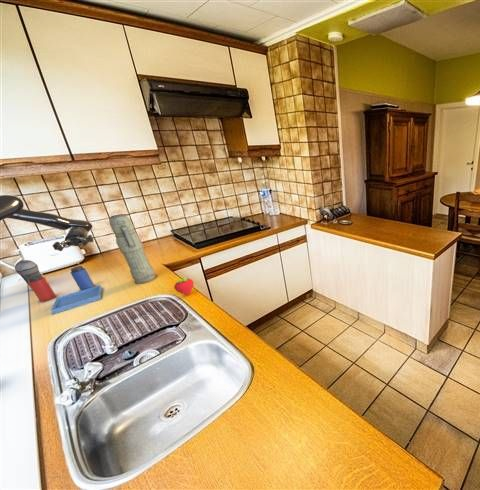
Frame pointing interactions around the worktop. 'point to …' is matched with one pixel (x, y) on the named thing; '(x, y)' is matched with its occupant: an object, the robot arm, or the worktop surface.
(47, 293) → the red bottle
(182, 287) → the strawberry
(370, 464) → the worktop surface
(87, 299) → the blue tray
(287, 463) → the worktop surface
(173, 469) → the worktop surface
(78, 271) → the blue bottle
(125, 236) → the stone statue
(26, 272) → the beverage cup
